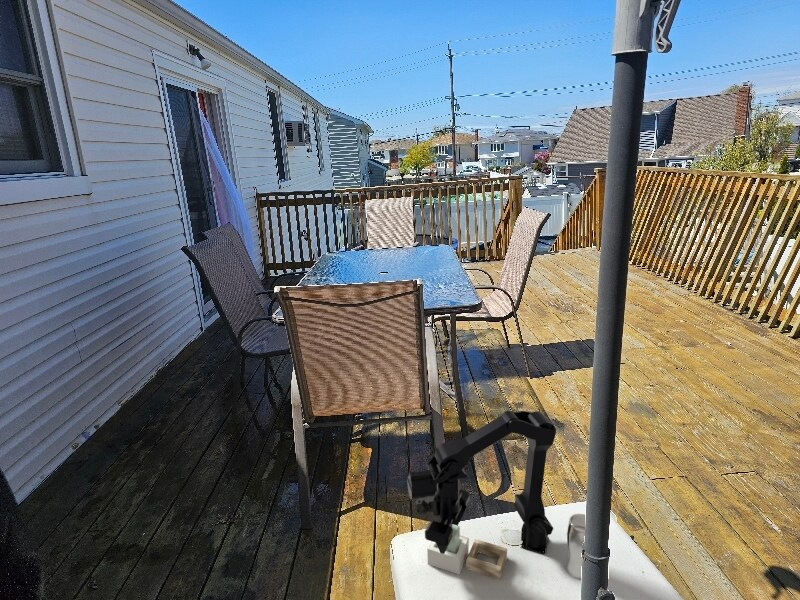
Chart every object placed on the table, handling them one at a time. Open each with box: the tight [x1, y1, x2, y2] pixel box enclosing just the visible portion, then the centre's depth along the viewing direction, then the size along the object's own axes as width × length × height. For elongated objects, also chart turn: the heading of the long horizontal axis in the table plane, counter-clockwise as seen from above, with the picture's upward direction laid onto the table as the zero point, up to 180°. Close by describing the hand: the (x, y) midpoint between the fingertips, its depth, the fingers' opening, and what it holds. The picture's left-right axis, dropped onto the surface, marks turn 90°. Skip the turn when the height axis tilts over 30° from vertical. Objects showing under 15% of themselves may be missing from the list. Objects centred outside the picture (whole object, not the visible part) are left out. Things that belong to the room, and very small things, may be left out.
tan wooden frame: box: [465, 538, 508, 580], centre depth 134 cm, size 9×8×3 cm
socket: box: [426, 535, 470, 575], centre depth 136 cm, size 9×8×5 cm
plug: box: [437, 523, 461, 554], centre depth 135 cm, size 5×4×10 cm
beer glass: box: [565, 513, 586, 580], centre depth 129 cm, size 7×7×15 cm
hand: (448, 540), depth 135 cm, fingers open, 9 cm apart
